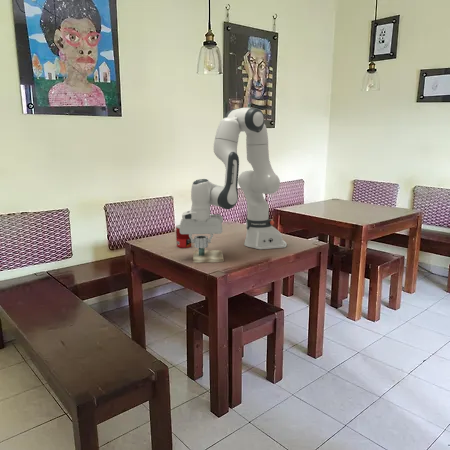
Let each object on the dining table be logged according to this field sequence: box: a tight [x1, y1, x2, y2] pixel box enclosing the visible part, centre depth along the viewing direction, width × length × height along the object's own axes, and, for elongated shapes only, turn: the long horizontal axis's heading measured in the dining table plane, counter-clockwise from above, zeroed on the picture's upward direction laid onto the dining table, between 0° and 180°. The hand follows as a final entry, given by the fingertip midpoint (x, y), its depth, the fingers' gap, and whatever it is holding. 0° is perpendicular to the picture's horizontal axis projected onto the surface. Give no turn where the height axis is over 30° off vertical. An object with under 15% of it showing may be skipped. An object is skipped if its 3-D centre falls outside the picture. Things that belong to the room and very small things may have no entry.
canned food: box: [175, 224, 193, 249], centre depth 218 cm, size 8×8×11 cm
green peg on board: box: [192, 248, 225, 264], centre depth 199 cm, size 14×14×8 cm
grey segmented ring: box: [193, 234, 209, 249], centre depth 198 cm, size 6×6×4 cm
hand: (201, 242), depth 198 cm, fingers closed on grey segmented ring, 6 cm apart
